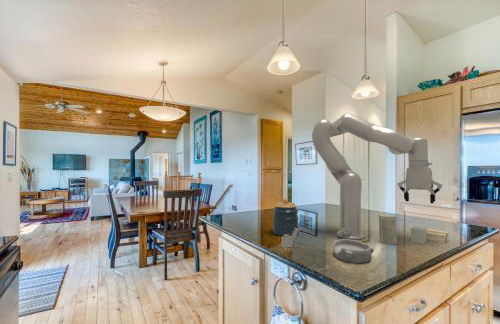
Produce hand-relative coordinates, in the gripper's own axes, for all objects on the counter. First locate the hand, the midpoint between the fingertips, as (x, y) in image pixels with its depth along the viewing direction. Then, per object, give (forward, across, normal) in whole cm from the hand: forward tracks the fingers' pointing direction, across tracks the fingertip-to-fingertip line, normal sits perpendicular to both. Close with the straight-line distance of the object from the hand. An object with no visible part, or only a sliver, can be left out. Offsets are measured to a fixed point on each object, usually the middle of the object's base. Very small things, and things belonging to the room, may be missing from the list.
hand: (419, 202), depth 115 cm
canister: (+17, +51, +34) cm, 64 cm away
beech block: (+18, -4, -8) cm, 20 cm away
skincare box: (+18, +10, +13) cm, 24 cm away
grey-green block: (+18, +1, 0) cm, 18 cm away
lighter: (+17, +36, +50) cm, 64 cm away
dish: (+18, +13, +42) cm, 48 cm away
